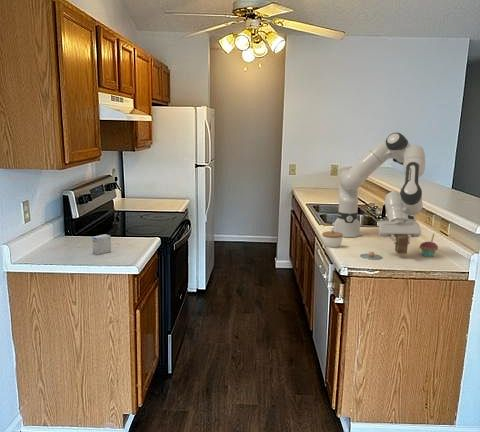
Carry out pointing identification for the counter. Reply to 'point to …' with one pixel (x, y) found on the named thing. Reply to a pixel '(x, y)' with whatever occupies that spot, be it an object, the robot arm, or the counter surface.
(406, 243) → the brown rectangular block
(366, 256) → the slate saucer
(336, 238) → the lidded jar
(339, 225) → the robot arm
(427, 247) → the cupcake
